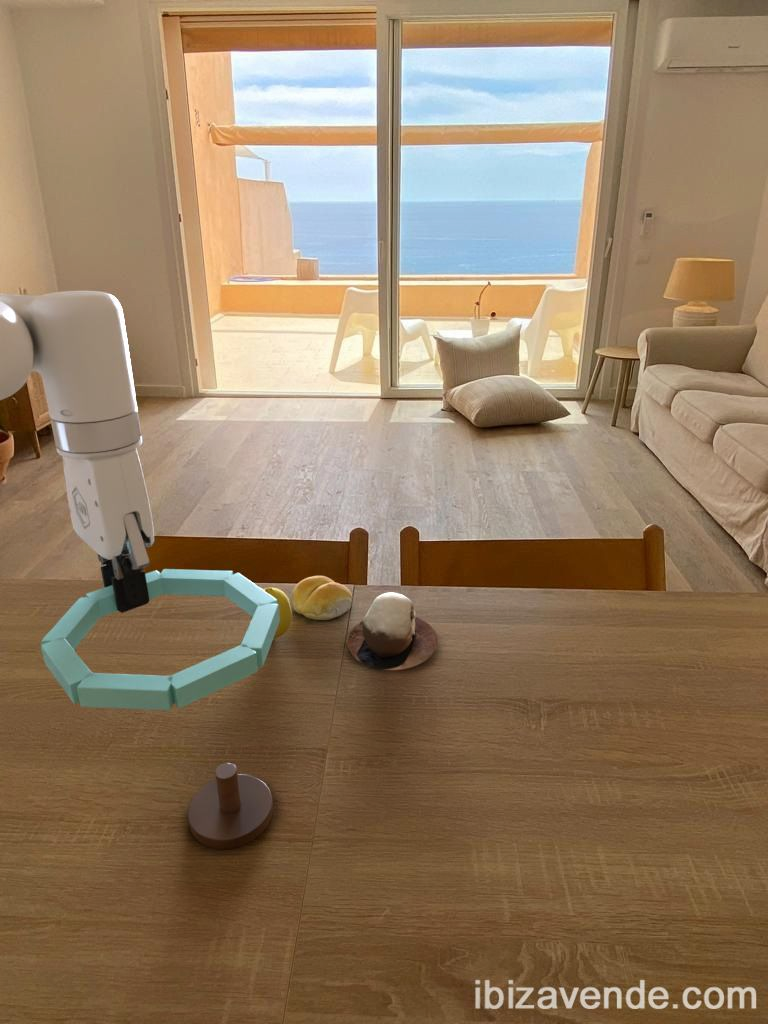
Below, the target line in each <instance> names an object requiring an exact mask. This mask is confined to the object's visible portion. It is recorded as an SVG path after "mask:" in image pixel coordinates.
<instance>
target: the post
mask: <svg viewBox="0 0 768 1024" xmlns="http://www.w3.org/2000/svg"><path fill="white" fill-rule="evenodd" d="M214 777H215V779H213V780H212V781H209V782H207V784H205V785H204V786H203V787H201V788H200V789H199V790H198V791H197V792H196V793H195V795H194V796H193V798H192V799H191V801H190V803H189V806H188V810H187V819H188V825H189V830H190V832H191V834H192V835H193V837H194V838H195V839H196V840H197V841H198V842H199V843H200V844H202V845H204V846H206V847H208V848H212V849H218V850H228V849H229V850H230V849H235V848H239V847H242V846H244V845H246V844H249V843H251V842H252V841H254V840H256V839H257V838H258V837H260V836H261V834H263V833H264V831H265V830H266V829H267V828H268V826H269V824H270V823H271V820H272V818H273V814H274V803H273V795H272V792H271V790H270V788H269V787H268V785H267V784H266V783H265V782H264V781H262V780H261V779H259V778H257V777H255V776H253V775H248V774H241V773H240V774H238V769H237V766H236V765H235V764H234V763H230V762H225V763H222V764H219V765H218V767H216V769H215V771H214Z"/></svg>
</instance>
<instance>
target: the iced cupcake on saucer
mask: <svg viewBox="0 0 768 1024" xmlns="http://www.w3.org/2000/svg"><path fill="white" fill-rule="evenodd" d="M437 647H438V635H437V633H436V631H435V630H434V628H433V627H432V625H431V624H430V623H428V622H426V620H424V619H421V618H419V617H418V616H417V612H416V609H415V606H414V603H413V602H412V600H411V599H409V598H408V597H407V596H405V595H403V594H402V593H398V592H392V591H391V592H390V591H389V592H385V593H382V594H380V595H377V596H376V598H375V599H374V600H373V602H371V605H370V607H369V609H368V611H367V612H366V614H365V616H364V618H363V619H362V621H360V622H359V623H357V624H356V625H354V627H353V628H352V629H351V630H350V632H349V635H348V637H347V648H348V650H349V651H348V652H350V654H351V655H352V657H353V658H354V659H355V660H357V661H358V662H359V663H361V664H363V665H364V666H367V667H369V668H372V669H377V670H382V671H399V670H407V669H411V668H413V667H414V668H415V667H416V666H418V665H421V664H422V663H424V662H425V661H427V660H428V659H429V658H430V657H431V656H432V655H433V654H434V653H435V651H436V649H437Z"/></svg>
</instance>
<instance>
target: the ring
mask: <svg viewBox="0 0 768 1024" xmlns="http://www.w3.org/2000/svg"><path fill="white" fill-rule="evenodd" d="M145 576H146V582H147V588H148V594H149V600H152V599H155V598H157V597H160V596H162V595H171V596H174V595H175V596H201V597H202V596H204V597H225V598H227V599H228V600H229V601H231V602H232V603H233V604H234V605H236V606H237V607H238V608H240V609H241V610H243V611H244V612H245V613H246V614H248V615H249V616H252V617H253V618H252V620H251V619H250V622H249V625H248V627H247V629H246V632H245V634H244V636H243V639H242V641H241V643H240V645H237V646H234V647H233V648H230V649H228V650H225V651H223V652H220V653H219V654H217V655H214V656H212V657H210V658H208V659H204V660H203V661H201V662H197V663H196V664H194V665H192V666H189V667H187V668H185V669H183V670H180V671H178V672H176V673H173V674H171V675H155V674H154V675H152V674H130V673H129V674H127V673H102V672H101V673H100V672H92V671H91V669H90V668H89V667H88V666H87V665H86V663H85V662H84V661H83V659H82V658H81V657H80V656H79V654H77V652H76V649H77V647H78V646H79V645H80V644H81V642H82V641H83V640H84V639H85V637H86V636H87V635H88V634H89V632H91V630H92V629H93V627H94V626H95V625H96V624H97V623H98V622H99V620H100V619H101V618H102V617H105V616H107V615H110V614H111V615H112V614H113V613H116V612H119V611H118V610H117V606H116V601H115V595H114V590H113V585H111V586H108V587H105V588H104V587H102V588H100V589H96V590H93V591H91V592H88V593H86V594H85V597H78V599H77V600H76V601H75V602H74V603H73V604H72V605H71V606H70V608H69V609H68V610H67V611H66V612H65V614H64V615H63V616H62V617H61V618H60V619H59V620H58V621H57V622H56V623H55V624H54V626H53V627H52V628H51V629H50V630H49V631H48V632H47V633H46V635H45V636H44V637H43V638H42V639H41V644H40V649H41V654H42V657H43V662H44V664H45V666H46V667H47V669H48V670H49V672H50V673H51V674H52V675H53V678H55V680H56V681H57V683H58V684H59V685H60V687H61V688H62V690H63V691H64V692H65V694H66V696H68V698H69V700H70V701H71V702H72V704H73V705H76V704H78V703H79V704H80V705H79V706H80V707H81V708H97V709H120V710H121V709H122V710H123V709H124V710H143V711H144V710H145V711H168V712H169V711H171V710H172V707H173V706H174V705H175V706H176V707H177V708H178V709H182V708H184V707H187V706H189V705H191V704H193V703H195V702H197V701H199V700H201V699H203V698H205V697H207V696H209V695H211V694H214V693H216V692H218V691H220V690H221V689H224V688H226V687H228V686H230V685H233V684H236V683H237V682H239V681H241V680H243V679H245V678H247V677H249V676H252V675H253V674H256V673H258V672H259V668H260V667H261V668H263V667H264V666H265V663H266V660H267V658H268V657H267V656H268V654H269V651H270V648H271V646H272V643H273V640H274V639H273V638H274V635H275V633H276V630H277V627H278V624H279V622H280V616H279V604H277V600H276V599H275V598H274V597H272V596H271V595H269V594H268V593H267V592H265V591H264V590H263V588H261V587H260V586H258V585H257V584H255V583H254V582H252V581H251V580H250V579H248V578H247V577H245V576H244V575H242V574H241V573H240V572H236V573H234V571H233V570H209V569H178V568H177V569H175V568H163V569H162V571H161V572H160V571H158V570H157V569H156V570H153V571H150V572H147V573H145Z"/></svg>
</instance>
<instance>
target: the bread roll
mask: <svg viewBox="0 0 768 1024" xmlns="http://www.w3.org/2000/svg"><path fill="white" fill-rule="evenodd" d="M290 601H291V607H292V609H293V610H294V611H295V612H296V613H297V614H300V615H303V616H304V617H306V618H307V619H309V620H311V619H312V620H316V621H328V620H332V619H334V618H338V617H340V616H342V615H343V614H345V613H347V612H348V611H349V610H350V608H351V607H352V601H353V593H352V592H351V590H350V589H349V587H347V586H345V585H344V584H342V583H339V582H335V581H334V580H333V579H331V578H329V577H328V576H325V575H313V576H308V577H305V578H304V579H302V580H300V581H299V582H298V583H297V584H296V585H295V586H294V588H293V590H292V593H291V600H290Z"/></svg>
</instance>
